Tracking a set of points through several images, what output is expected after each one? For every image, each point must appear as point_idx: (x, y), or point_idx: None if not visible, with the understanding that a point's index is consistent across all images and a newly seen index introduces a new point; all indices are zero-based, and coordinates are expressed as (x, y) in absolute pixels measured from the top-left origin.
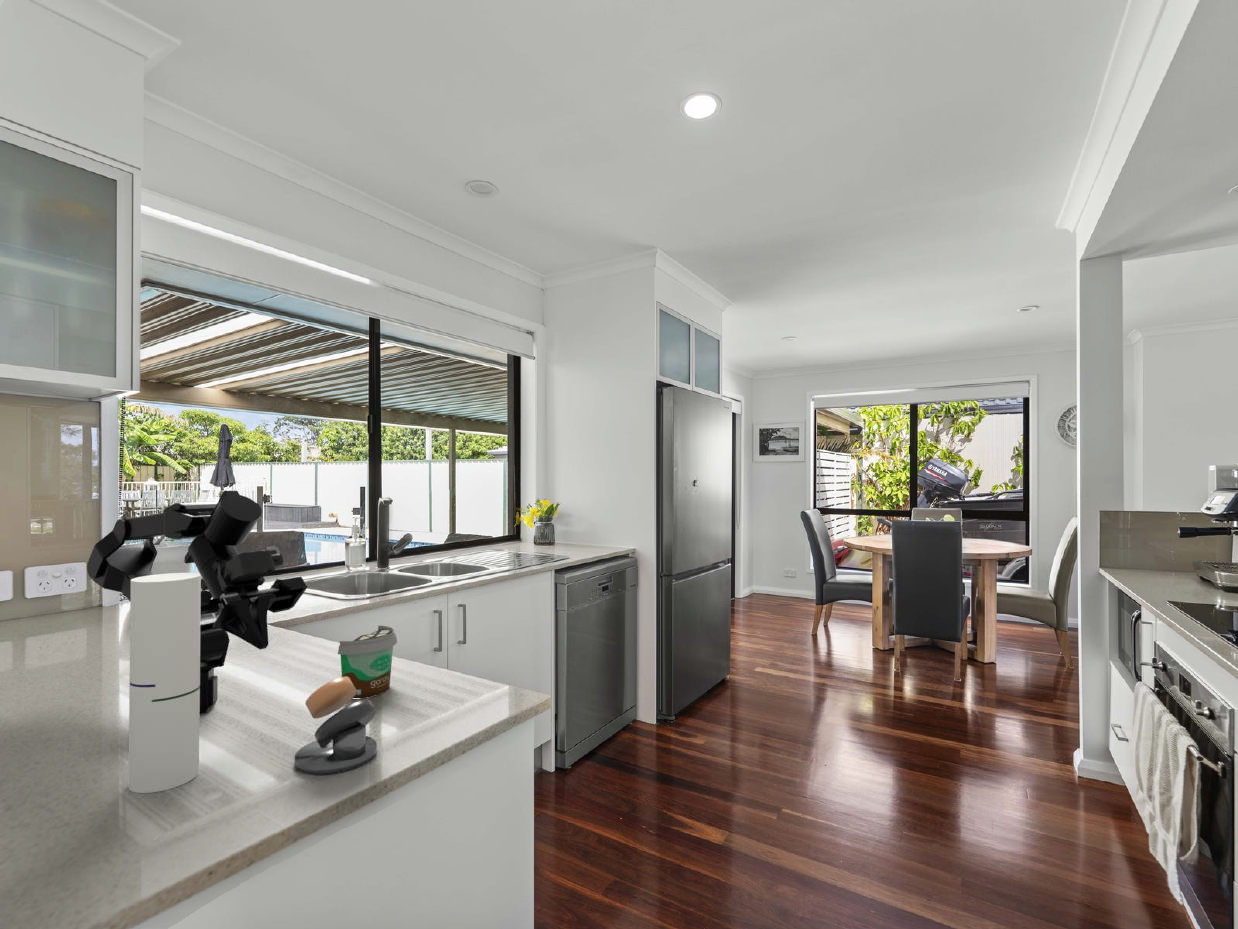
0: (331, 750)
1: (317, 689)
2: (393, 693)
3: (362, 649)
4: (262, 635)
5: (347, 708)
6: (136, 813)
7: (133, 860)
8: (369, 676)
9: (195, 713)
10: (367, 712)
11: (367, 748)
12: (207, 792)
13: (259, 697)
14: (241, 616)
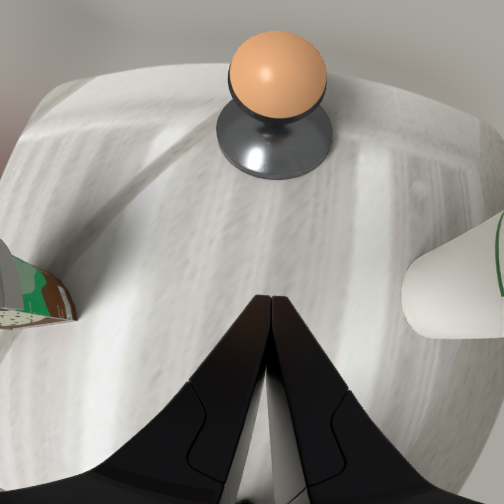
0: (280, 128)
1: (319, 53)
2: (39, 255)
3: (4, 253)
4: (269, 330)
5: None
6: None
7: (483, 158)
8: (35, 268)
9: (475, 227)
10: None
11: None
12: (422, 203)
13: None
14: (412, 469)
